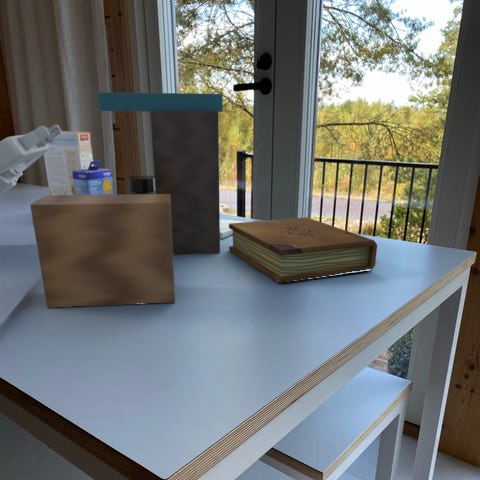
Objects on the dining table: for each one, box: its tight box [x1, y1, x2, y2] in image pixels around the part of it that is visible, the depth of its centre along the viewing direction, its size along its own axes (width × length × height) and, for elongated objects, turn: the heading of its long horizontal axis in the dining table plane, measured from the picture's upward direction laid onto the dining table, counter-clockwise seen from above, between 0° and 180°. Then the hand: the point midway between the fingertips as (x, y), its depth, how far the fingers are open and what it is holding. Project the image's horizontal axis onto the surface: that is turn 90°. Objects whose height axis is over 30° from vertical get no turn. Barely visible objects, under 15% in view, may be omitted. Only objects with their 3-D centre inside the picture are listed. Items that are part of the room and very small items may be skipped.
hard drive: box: [220, 218, 243, 240], centre depth 112 cm, size 2×8×12 cm
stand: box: [150, 111, 221, 255], centre depth 93 cm, size 12×8×26 cm, turn 97°
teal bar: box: [97, 91, 224, 113], centre depth 87 cm, size 22×3×3 cm, turn 97°
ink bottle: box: [127, 175, 156, 194], centre depth 113 cm, size 10×9×12 cm
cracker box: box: [43, 130, 94, 195], centre depth 144 cm, size 14×6×21 cm, turn 66°
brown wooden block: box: [29, 193, 176, 309], centre depth 69 cm, size 18×8×14 cm, turn 97°
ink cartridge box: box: [72, 160, 114, 195], centre depth 126 cm, size 10×6×14 cm, turn 155°
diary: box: [228, 216, 378, 283], centre depth 89 cm, size 23×19×6 cm
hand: (53, 128), depth 86 cm, fingers open, 8 cm apart
